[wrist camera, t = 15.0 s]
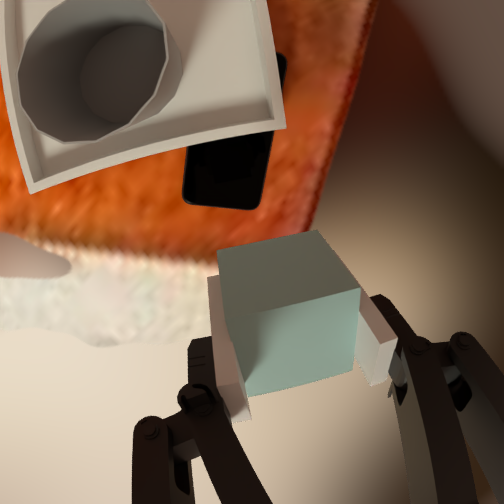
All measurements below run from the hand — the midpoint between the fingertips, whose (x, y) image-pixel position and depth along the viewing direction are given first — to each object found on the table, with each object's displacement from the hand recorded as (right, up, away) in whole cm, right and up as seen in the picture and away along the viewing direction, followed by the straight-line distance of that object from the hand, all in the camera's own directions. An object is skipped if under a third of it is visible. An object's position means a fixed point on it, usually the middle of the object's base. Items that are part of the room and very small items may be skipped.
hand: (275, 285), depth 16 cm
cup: (-11, +16, +4) cm, 19 cm away
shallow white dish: (-12, +21, +3) cm, 24 cm away
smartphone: (-3, +13, +10) cm, 16 cm away
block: (0, 0, 0) cm, 0 cm away
